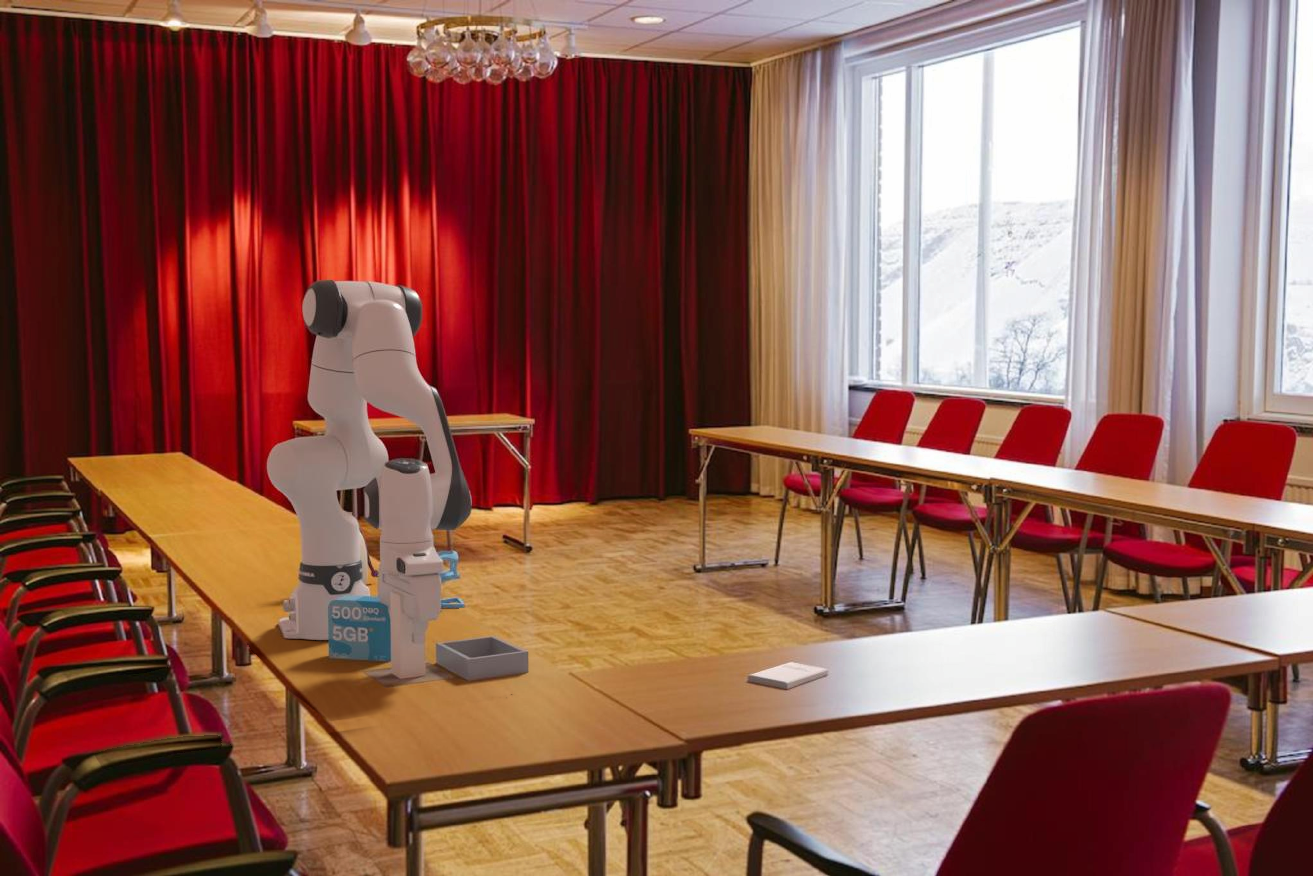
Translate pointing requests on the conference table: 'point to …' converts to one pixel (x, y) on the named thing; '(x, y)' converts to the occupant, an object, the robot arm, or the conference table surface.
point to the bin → (481, 658)
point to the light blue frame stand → (450, 578)
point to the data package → (359, 628)
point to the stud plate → (391, 680)
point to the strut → (404, 643)
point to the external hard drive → (788, 675)
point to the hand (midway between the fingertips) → (408, 638)
